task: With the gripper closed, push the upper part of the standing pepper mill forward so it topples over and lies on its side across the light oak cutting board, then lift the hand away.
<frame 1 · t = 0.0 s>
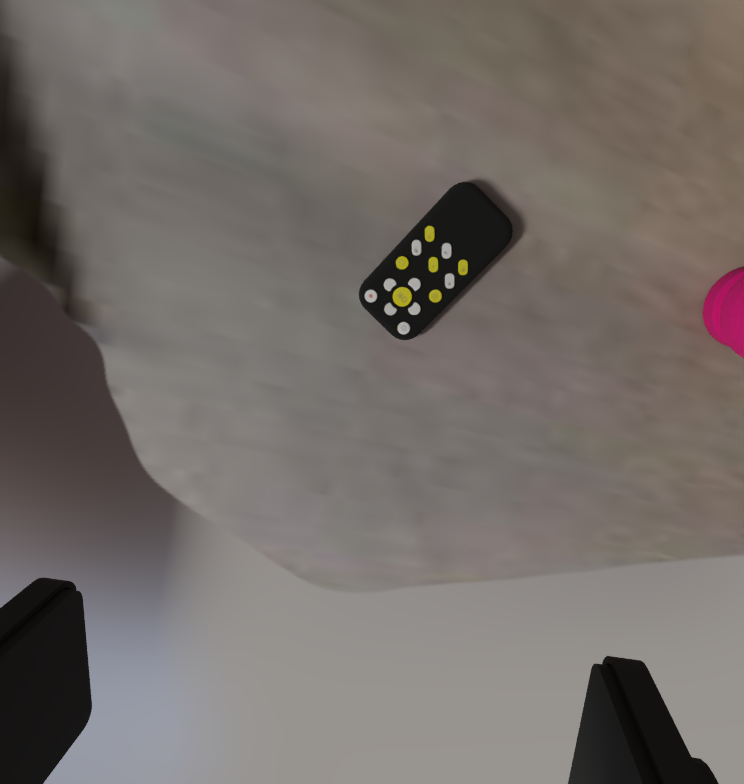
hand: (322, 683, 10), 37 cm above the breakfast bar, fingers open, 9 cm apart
remote control: (433, 263, 44), on the breakfast bar
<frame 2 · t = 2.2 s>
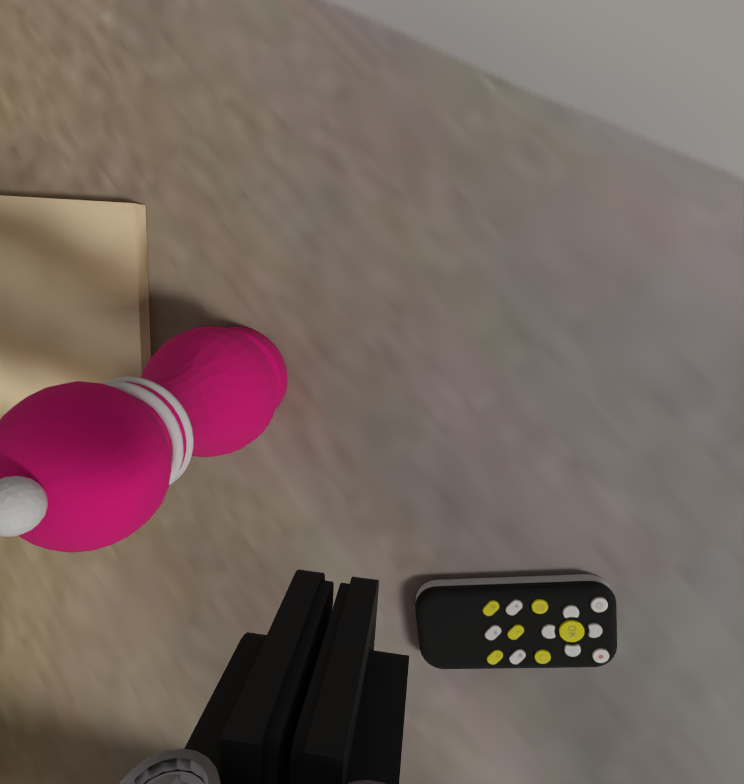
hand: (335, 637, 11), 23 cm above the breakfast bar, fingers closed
pepper mill: (241, 374, 35), on the breakfast bar
remote control: (511, 611, 37), on the breakfast bar
cutting board: (37, 356, 36), on the breakfast bar
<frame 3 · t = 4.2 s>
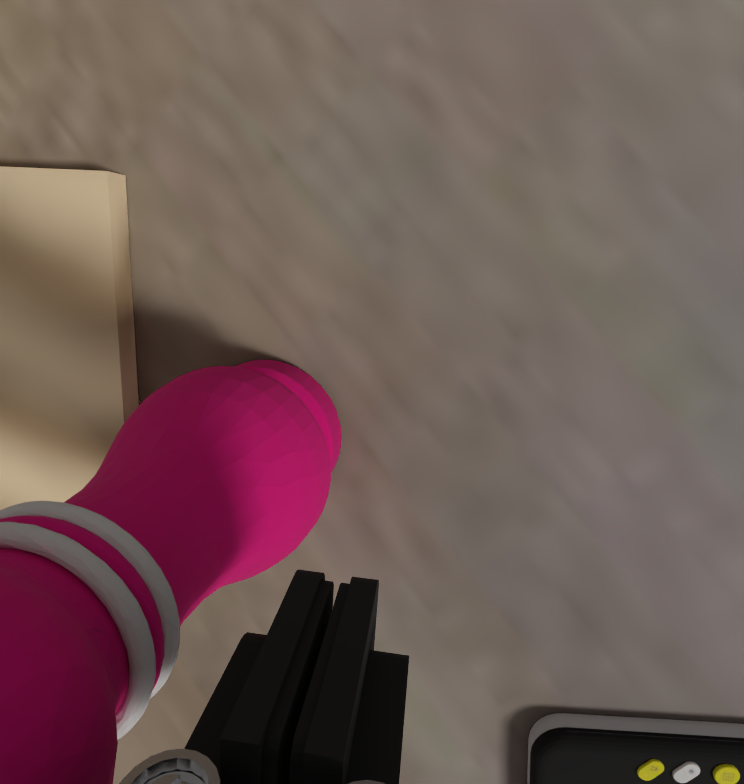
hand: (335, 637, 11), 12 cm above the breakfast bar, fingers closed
pepper mill: (272, 429, 23), on the breakfast bar, touching gripper
remote control: (663, 762, 26), on the breakfast bar
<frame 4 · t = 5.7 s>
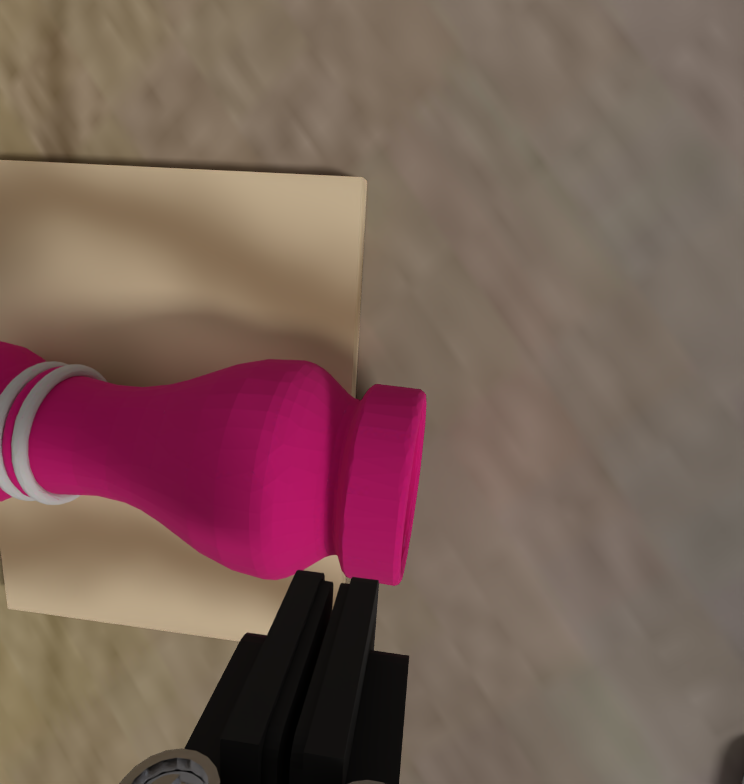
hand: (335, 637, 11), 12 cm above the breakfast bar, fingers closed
pepper mill: (420, 486, 17), point 5 cm above the breakfast bar, touching cutting board
cutting board: (172, 417, 24), on the breakfast bar
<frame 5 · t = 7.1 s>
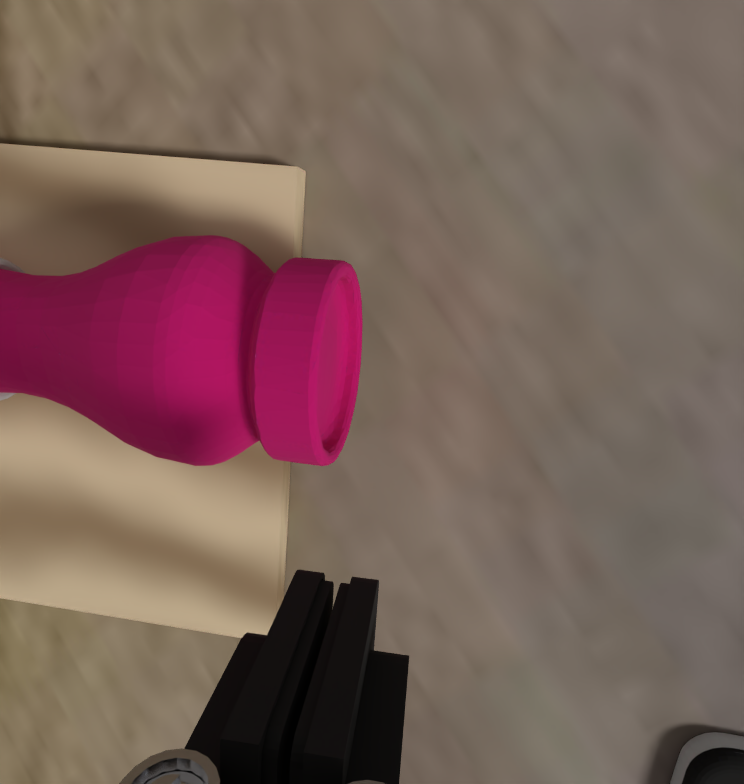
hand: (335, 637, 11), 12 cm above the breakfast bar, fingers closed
pepper mill: (349, 365, 17), point 5 cm above the breakfast bar, touching cutting board
cutting board: (113, 402, 24), on the breakfast bar
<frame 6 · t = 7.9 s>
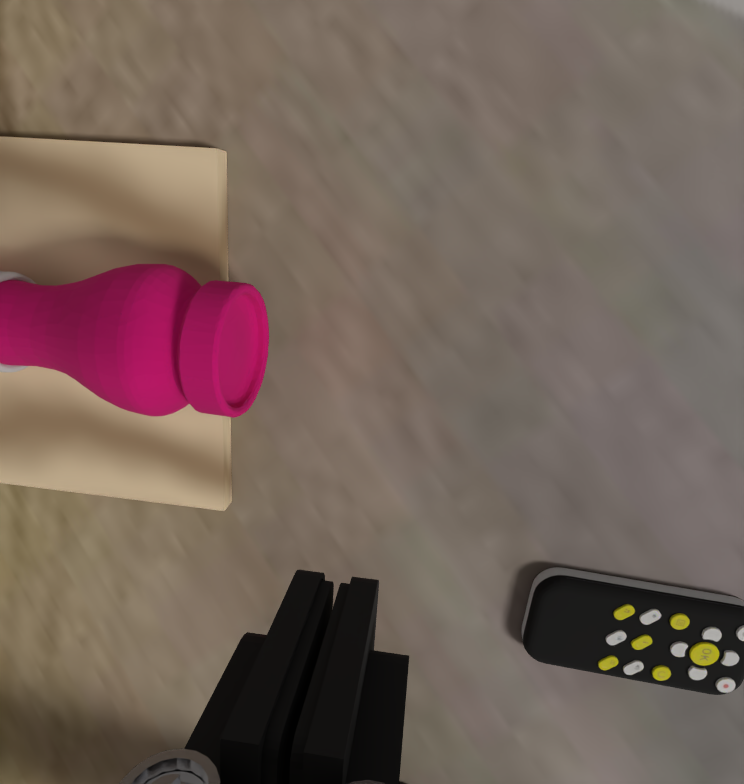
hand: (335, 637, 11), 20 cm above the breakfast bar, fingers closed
pepper mill: (250, 352, 25), point 5 cm above the breakfast bar, touching cutting board
remote control: (629, 617, 33), on the breakfast bar
cutting board: (96, 331, 31), on the breakfast bar
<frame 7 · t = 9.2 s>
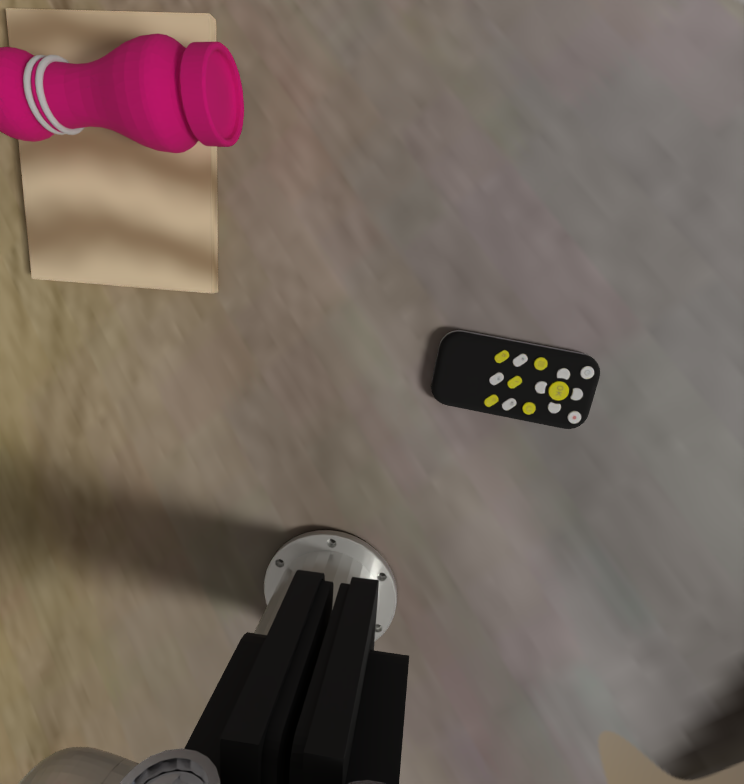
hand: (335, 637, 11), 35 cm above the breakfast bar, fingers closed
pepper mill: (229, 96, 37), point 5 cm above the breakfast bar, touching cutting board
remote control: (511, 376, 45), on the breakfast bar
cutting board: (122, 159, 44), on the breakfast bar
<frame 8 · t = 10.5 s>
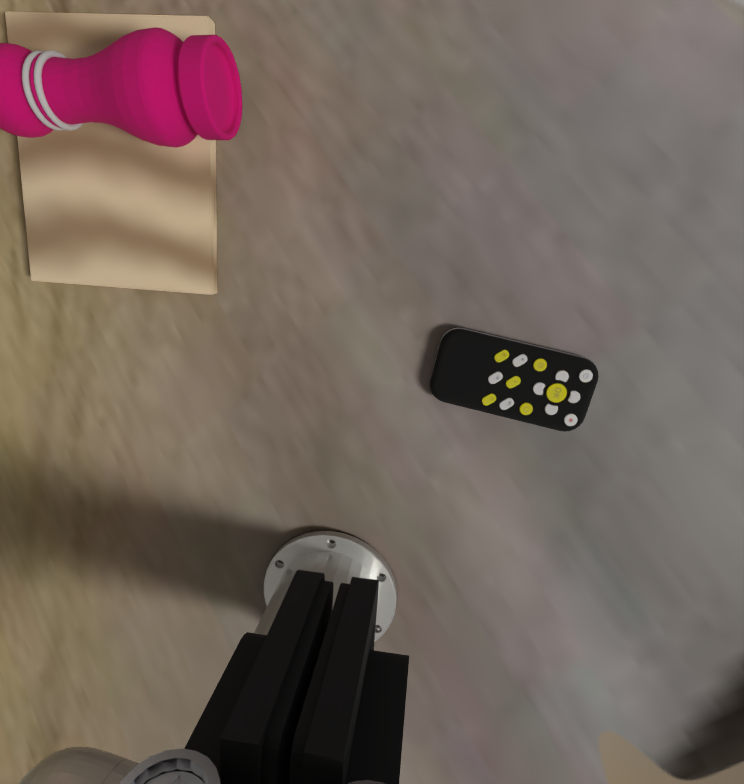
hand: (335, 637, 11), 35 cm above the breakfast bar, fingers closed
pepper mill: (227, 89, 37), point 5 cm above the breakfast bar, touching cutting board
remote control: (509, 376, 45), on the breakfast bar
cutting board: (121, 161, 44), on the breakfast bar
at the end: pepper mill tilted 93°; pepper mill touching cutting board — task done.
